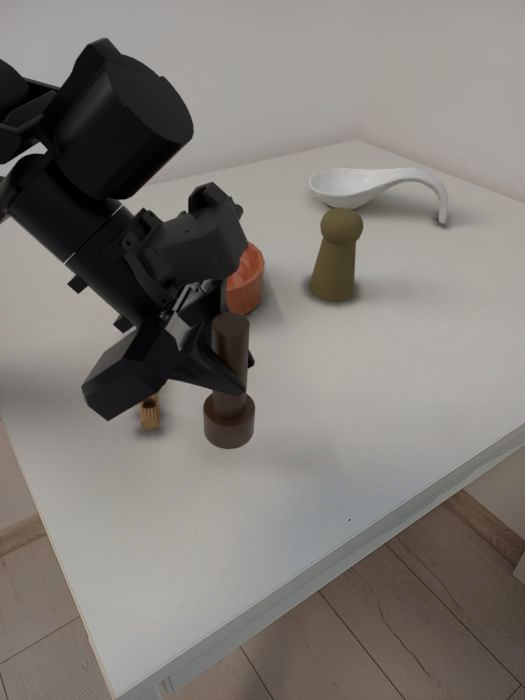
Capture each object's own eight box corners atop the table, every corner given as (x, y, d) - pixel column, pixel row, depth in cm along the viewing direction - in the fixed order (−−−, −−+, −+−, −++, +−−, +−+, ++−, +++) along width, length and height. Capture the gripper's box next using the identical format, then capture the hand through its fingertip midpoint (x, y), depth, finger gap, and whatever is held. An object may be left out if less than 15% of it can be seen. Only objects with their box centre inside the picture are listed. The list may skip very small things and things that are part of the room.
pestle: (199, 446, 44) (194, 338, 36) (209, 408, 47) (206, 302, 39) (250, 452, 44) (256, 346, 36) (256, 414, 47) (264, 308, 39)
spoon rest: (300, 211, 86) (304, 168, 81) (313, 183, 94) (318, 144, 90) (445, 235, 82) (458, 193, 77) (445, 205, 90) (457, 164, 86)
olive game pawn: (306, 298, 67) (316, 221, 60) (311, 273, 72) (321, 199, 64) (352, 305, 66) (368, 228, 59) (354, 279, 71) (369, 205, 64)
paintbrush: (157, 285, 62) (169, 413, 48) (159, 302, 64) (171, 431, 50) (124, 287, 61) (127, 418, 47) (127, 305, 63) (130, 436, 49)
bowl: (138, 319, 62) (133, 285, 59) (168, 258, 73) (165, 226, 69) (254, 333, 61) (256, 298, 58) (267, 269, 72) (270, 237, 68)
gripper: (99, 237, 24) (309, 437, 30) (212, 115, 37) (339, 268, 43) (-8, 339, 30) (184, 487, 36) (123, 201, 44) (245, 325, 50)
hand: (246, 379), depth 41 cm, fingers closed on pestle, 3 cm apart
